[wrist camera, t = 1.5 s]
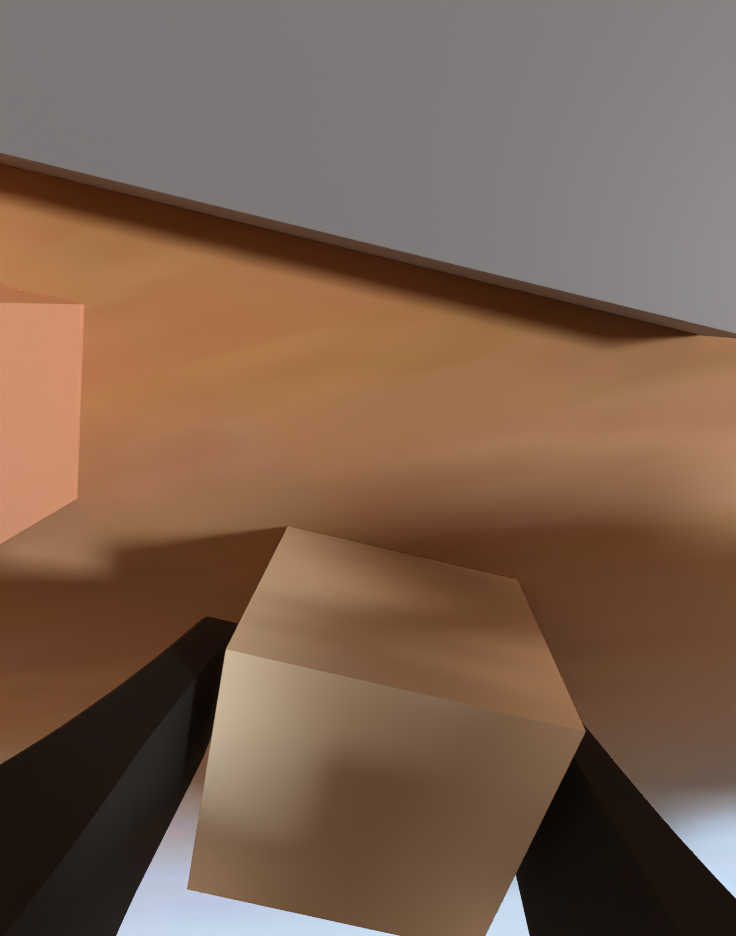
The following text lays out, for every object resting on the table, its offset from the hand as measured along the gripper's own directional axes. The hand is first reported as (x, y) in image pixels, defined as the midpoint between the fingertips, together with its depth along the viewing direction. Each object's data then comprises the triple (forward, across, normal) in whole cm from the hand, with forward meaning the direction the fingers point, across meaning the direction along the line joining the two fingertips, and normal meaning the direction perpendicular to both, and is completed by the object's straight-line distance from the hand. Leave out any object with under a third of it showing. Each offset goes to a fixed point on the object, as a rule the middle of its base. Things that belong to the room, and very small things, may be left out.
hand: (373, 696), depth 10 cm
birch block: (+2, 0, 0) cm, 2 cm away
